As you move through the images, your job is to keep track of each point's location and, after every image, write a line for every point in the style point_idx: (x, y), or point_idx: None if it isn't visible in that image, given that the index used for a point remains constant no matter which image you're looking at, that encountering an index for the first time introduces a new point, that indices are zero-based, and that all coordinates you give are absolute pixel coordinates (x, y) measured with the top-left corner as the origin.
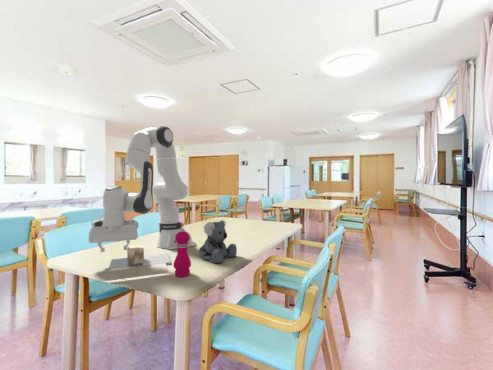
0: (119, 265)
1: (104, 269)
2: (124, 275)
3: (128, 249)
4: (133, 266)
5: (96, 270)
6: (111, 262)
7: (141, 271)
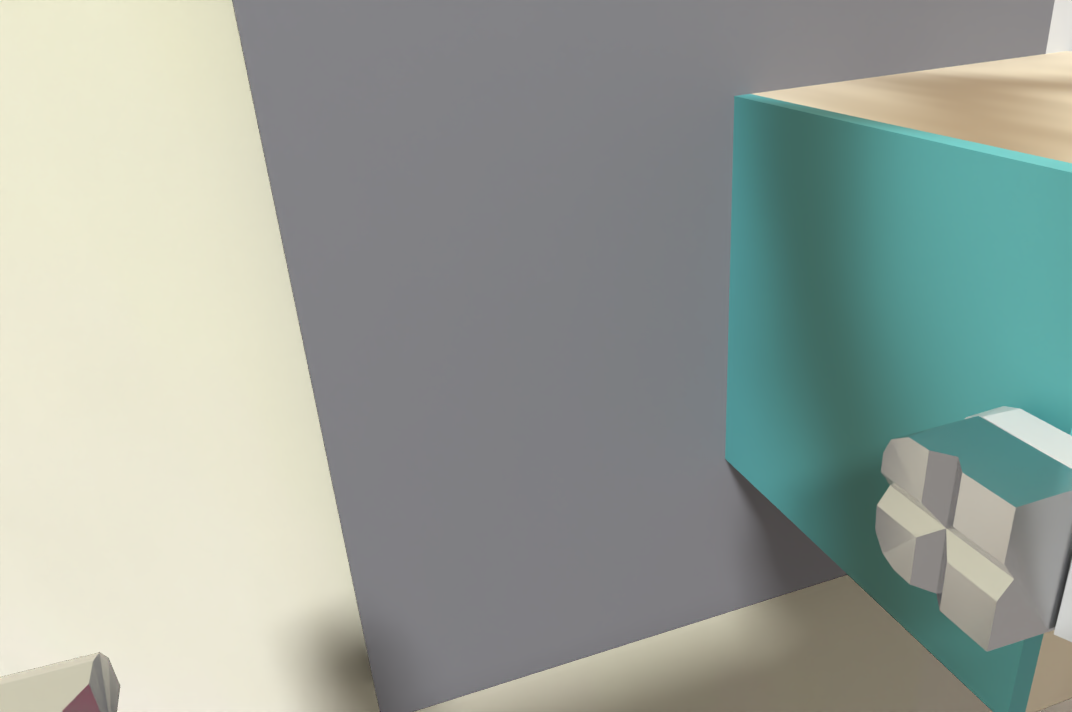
0: (569, 499)
1: (237, 550)
2: None
3: (1031, 710)
4: (823, 575)
5: (50, 601)
6: (310, 234)
7: (891, 662)
